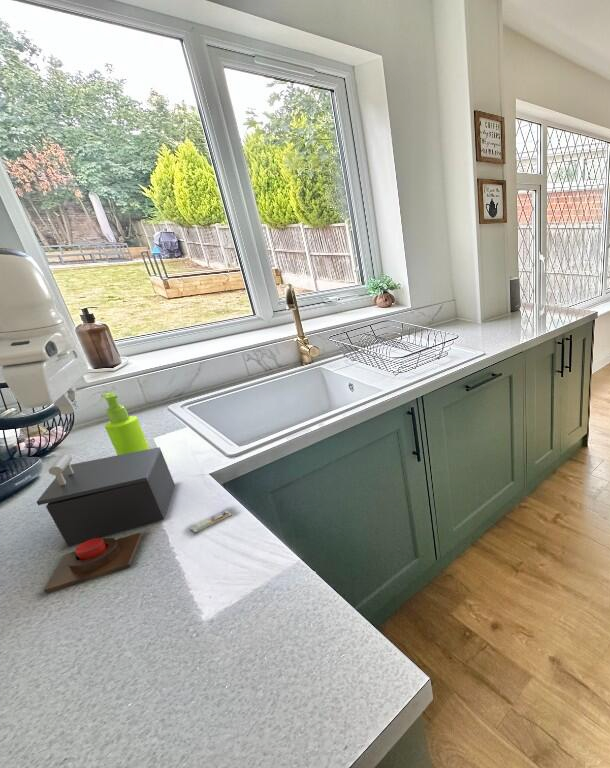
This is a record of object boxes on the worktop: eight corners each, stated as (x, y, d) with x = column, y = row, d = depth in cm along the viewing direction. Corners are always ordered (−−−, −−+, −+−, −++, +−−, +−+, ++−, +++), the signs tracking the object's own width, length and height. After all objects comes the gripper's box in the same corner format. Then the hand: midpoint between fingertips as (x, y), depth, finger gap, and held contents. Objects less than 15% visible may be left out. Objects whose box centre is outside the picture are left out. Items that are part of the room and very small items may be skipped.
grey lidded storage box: (68, 548, 78) (45, 506, 75) (92, 508, 89) (73, 469, 86) (164, 520, 85) (147, 481, 81) (175, 486, 96) (161, 450, 92)
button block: (46, 595, 68) (38, 582, 67) (67, 559, 76) (60, 546, 75) (131, 568, 73) (125, 555, 72) (143, 537, 81) (137, 524, 79)
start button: (75, 563, 71) (71, 555, 71) (83, 550, 74) (78, 542, 73) (103, 555, 73) (99, 547, 72) (109, 542, 76) (105, 534, 75)
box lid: (38, 505, 74) (26, 482, 72) (66, 468, 85) (57, 447, 83) (147, 481, 81) (139, 459, 79) (160, 450, 92) (153, 430, 90)
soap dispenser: (150, 457, 108) (120, 387, 100) (159, 465, 104) (129, 393, 97) (121, 468, 104) (88, 395, 96) (129, 477, 100) (95, 402, 92)
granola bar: (194, 535, 81) (192, 530, 80) (190, 530, 82) (189, 525, 82) (232, 516, 85) (231, 512, 85) (228, 511, 87) (227, 507, 86)
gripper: (38, 332, 81) (68, 396, 86) (-18, 360, 64) (24, 437, 70) (81, 327, 84) (108, 389, 89) (38, 353, 67) (75, 428, 72)
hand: (71, 411), depth 79 cm, fingers closed
